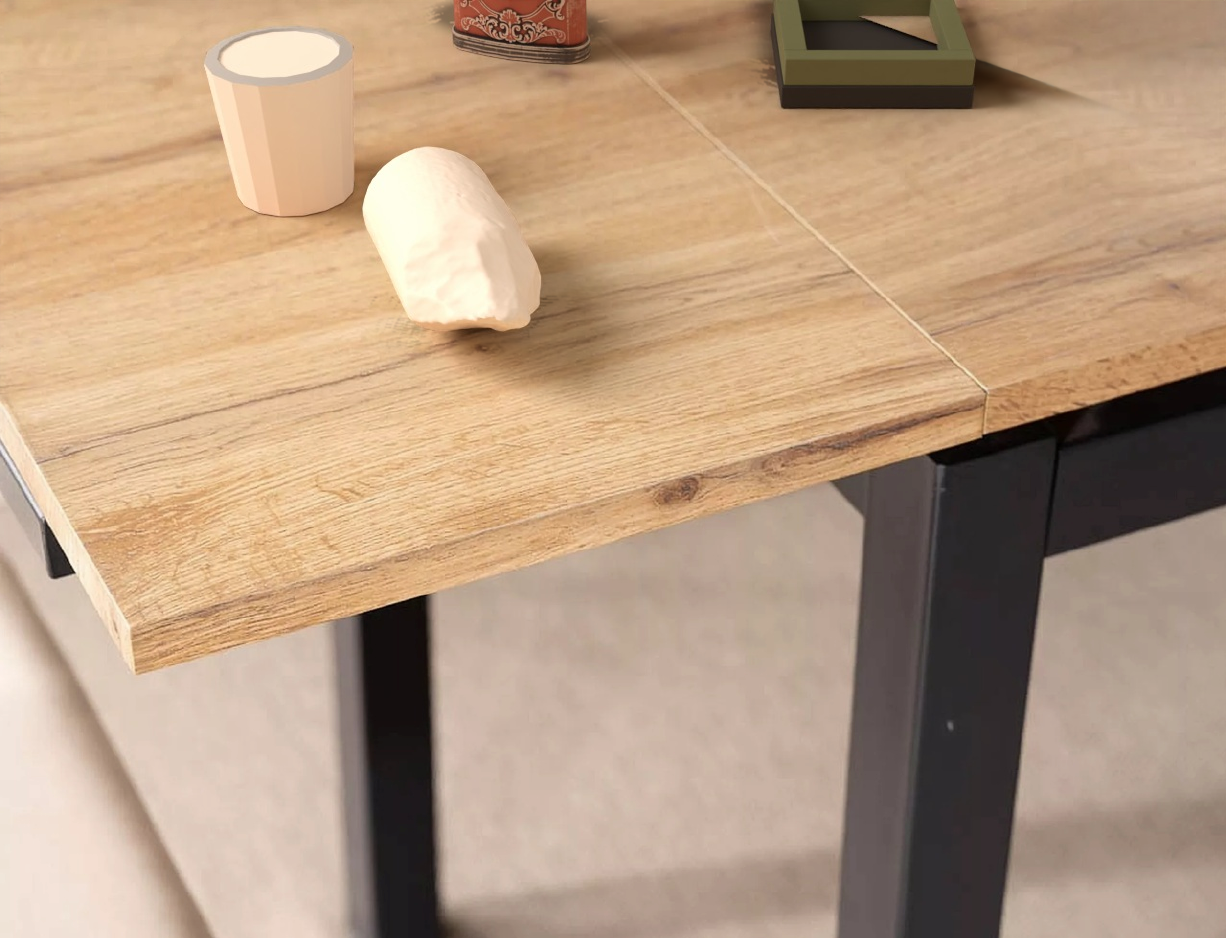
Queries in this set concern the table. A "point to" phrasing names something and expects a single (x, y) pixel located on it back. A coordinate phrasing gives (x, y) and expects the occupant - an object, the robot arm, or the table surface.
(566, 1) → the red decorated tin
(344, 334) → the table surface
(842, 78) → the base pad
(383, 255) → the roll
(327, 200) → the peach cup
